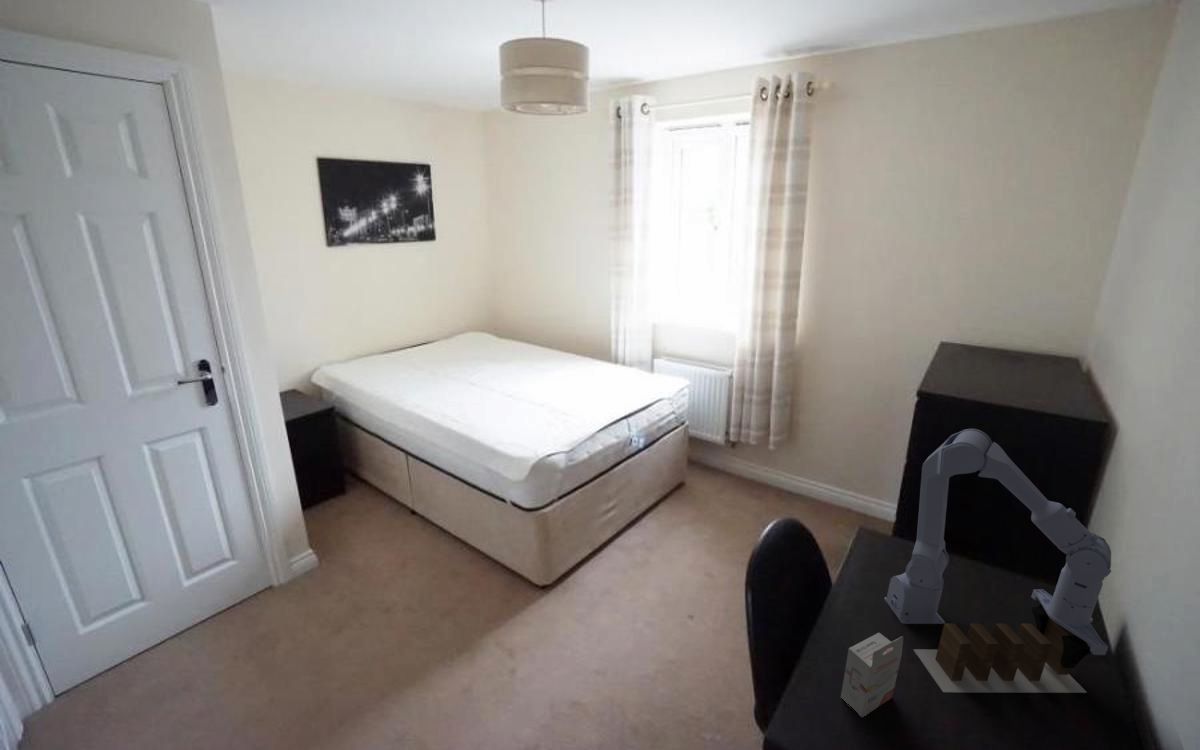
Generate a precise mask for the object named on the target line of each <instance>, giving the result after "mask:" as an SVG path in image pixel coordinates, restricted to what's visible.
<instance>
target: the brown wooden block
mask: <svg viewBox="0 0 1200 750" xmlns="http://www.w3.org/2000/svg"><path fill="white" fill-rule="evenodd" d="M1043 636H1045V637H1046V638H1047V639H1048V640H1049V641H1050V642H1051V643H1052V645H1051V648H1050V651H1049V654H1048V657H1047V660H1046V663H1047V664H1048V665H1049V666H1050V668H1051V669H1052V670H1053V671H1054V672H1055V673H1056V674H1057V675H1068V674H1069V673H1070V670H1071V668H1064V667H1062V666H1061V657H1062V654H1063V640H1062V636H1074V634H1073V633H1071V632H1070V631H1068V630H1067V629H1065V628H1063V627H1062V626H1060V625H1059V624H1057V623H1056V622H1054V621H1053V620H1052V619H1051V618H1050V617H1049V619H1048V622H1047V625H1046V628H1045V631H1044V634H1043ZM1069 675H1070V674H1069Z"/></svg>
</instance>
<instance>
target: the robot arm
mask: <svg viewBox="0 0 1200 750" xmlns="http://www.w3.org/2000/svg"><path fill="white" fill-rule="evenodd" d="M978 471H979V472H978ZM976 472H978V475H977V476H978V478H979V477H980V478H988V479H994V480H997V481H999V482H1000V483H1001V484H1002V485H1003V486H1004V487H1005V488H1006V489H1007V490H1008V491H1009V492H1010V493H1011V494H1012V495H1013V496H1015V497H1016V498H1017V499H1018V500H1019V501H1020V502H1021V503H1022V504H1023V505H1024V506H1025V507H1027V509H1029V511H1031V515H1030V516H1031V517H1030V519H1031V521H1032V523H1033V524H1034V525H1035V526H1036V527H1037V528H1038V529H1039V530H1040V531H1041V533H1043V534H1044V535H1045V536H1046V537H1047V539H1049V540H1050V541H1051V543H1052V544H1053V545H1055V546H1056V547H1057V548H1058V550H1060V551H1061V552H1062V553H1064V554H1065V555H1066V556H1065V565H1064V567H1062V568H1061V571H1060V574H1059V577H1058V581H1057V583H1056V586H1055V589H1054V591H1053V595H1051V594H1050V593H1048V592H1047V591H1046V590H1045V589H1033V591H1032V594H1031V598H1032V599H1033V600H1034V601H1036V602H1039V605H1038V606H1032V607H1031V612H1032V614H1033V617H1034V620H1035V625H1036V629H1037V630H1038V631H1039V632H1040V633H1041V634H1042V635H1043V634H1044V631H1045V628H1046V625H1047V622H1048V619H1049V617H1050V618H1051V619H1052V620H1053V621H1054V622H1056V623H1057V624H1059V625H1060V626H1062V627H1063V628H1065V629H1067V630H1068V631H1070V632H1071V633H1073V634H1074V636H1062V640H1063V654H1062V657H1061V666H1062V667H1064V668H1070V669H1074V668H1075V667H1076V666H1077V665H1078V664H1079V663H1080V662H1081V661H1082V660H1083V659H1084V658H1086V657H1087V656H1088V655H1090V654H1092V655H1094V656H1105V655H1106V654H1107V651H1108V649H1109V646H1108V645H1107V643H1105V642H1104V641H1103V640H1102V638H1101V637H1100V635H1099V634H1098V633H1097V631H1096V630H1095V628H1094V627H1093V625H1092V624H1091V623H1093V620H1094V619H1093V617H1092V616H1093V613H1094V610H1095V607H1096V604H1097V602H1098V599H1099V597H1100V596H1099V595H1100V594H1101V591H1102V587H1103V581H1104V580H1105V578H1106V577H1108V576H1109V575H1110V574H1111V573H1112V570H1111V567H1112V566H1111V565H1112V549H1111V547H1110V545H1109V544H1108V542H1107V541H1106V539H1105V538H1104V537H1103V536H1101V535H1098V534H1096V533H1095V532H1091V531H1089V530H1088V529H1087V528H1086V527H1085V526H1084V525H1083V524H1082V523H1081V522H1080V520H1079V519H1077V517H1076V511H1074V509H1072V508H1071V507H1069V508H1066V506H1064V505H1063V504H1062V503H1060V502H1056V501H1051V500H1049V499H1047V497H1046V496H1044V494H1043V493H1042V492H1041V491H1040V489H1038V488H1037V486H1035V484H1033V482H1032V481H1031V480H1030V479H1029V478H1028V477H1027V475H1026V474H1024V472H1023V471H1022V469H1020V468H1019V467H1018V466H1017V465H1016V464H1015V462H1014V461H1012V459H1011V458H1010V457H1009V456H1008V454H1007V453H1006V452H1005V450H1004V449H1003V448H1002V447H1001V446H1000V445H999V444H998V443H997V442H995V441H993V442H992V439H991V438H990V436H989V435H988V434H986V432H984V431H982V430H980V429H977V428H967V429H962V430H961V431H959V432H956V433H953V434H951V435H950V436H948V438H947V439H946V440H945V441H944V442H943V443H942V444H941V445H940V446H939V447H937V448H936V449H935V450H934V451H933V452H932V453H931V454H930V455H929V456H928V457H927V458H926V459H925V461H924V462H923V463H922V467H921V479H920V491H919V504H918V505H919V506H918V515H917V516H918V517H917V531H916V540H915V544H914V547H913V550H912V555H911V560H910V561H909V562H908V564H907V565H906V567H905V572H903V573H901V574H898V575H894V576H892V577H891V578H890V580H889V585H888V589H887V595H886V596H885V597H884V601H885V602H886V603H887V605H888V606H889V607H890V609H891V611H892V612H893V613H894V614H895V616H896V617H897V618H898V620H899V621H900V623H901V624H903V625H904V624H905V625H911V624H912V625H913V624H914V625H919V624H920V625H944V623H946V621H945V620H944V619H943V617H942V616H941V615H940V614H939V613H938V608H939V605H940V601H941V597H942V593H943V589H944V585H945V580H944V578H943V573H944V571H945V569H946V568H947V567H948V566H949V563H950V558H949V555H948V553H947V550H946V541H945V539H944V538H945V529H946V518H947V517H946V516H947V506H948V496H949V495H948V494H949V484H950V478H951V477H953V476H955V475H964V474H972V473H976Z"/></svg>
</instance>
